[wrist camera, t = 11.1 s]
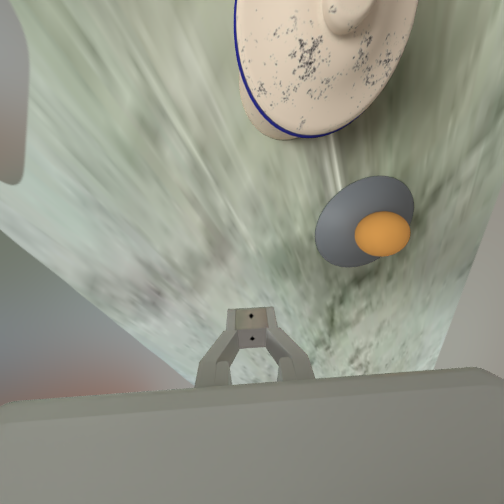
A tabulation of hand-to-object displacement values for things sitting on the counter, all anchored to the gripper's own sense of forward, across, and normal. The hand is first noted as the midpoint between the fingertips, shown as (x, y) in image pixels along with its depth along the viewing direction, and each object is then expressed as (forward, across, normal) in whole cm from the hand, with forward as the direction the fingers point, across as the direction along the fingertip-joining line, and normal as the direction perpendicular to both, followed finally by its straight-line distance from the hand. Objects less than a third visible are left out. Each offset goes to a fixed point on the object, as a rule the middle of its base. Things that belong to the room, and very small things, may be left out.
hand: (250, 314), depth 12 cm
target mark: (+14, -16, 0) cm, 21 cm away
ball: (+11, -17, 0) cm, 20 cm away
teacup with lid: (+14, -4, -16) cm, 22 cm away
